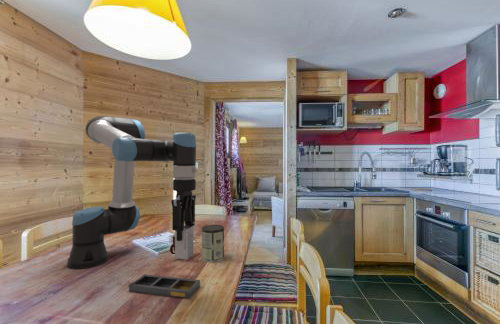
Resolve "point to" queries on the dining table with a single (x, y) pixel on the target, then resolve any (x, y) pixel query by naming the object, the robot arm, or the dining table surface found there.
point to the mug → (173, 245)
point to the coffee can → (212, 243)
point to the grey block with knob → (186, 244)
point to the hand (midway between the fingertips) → (184, 247)
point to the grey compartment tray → (165, 286)
